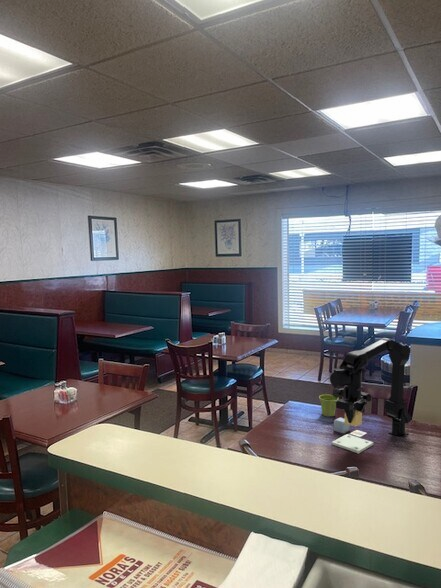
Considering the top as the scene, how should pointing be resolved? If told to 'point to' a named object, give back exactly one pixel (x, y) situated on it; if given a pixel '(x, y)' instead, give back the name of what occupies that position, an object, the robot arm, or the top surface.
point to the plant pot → (328, 405)
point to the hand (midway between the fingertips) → (353, 421)
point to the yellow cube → (355, 419)
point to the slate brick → (341, 425)
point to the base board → (352, 443)
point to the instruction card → (358, 433)
